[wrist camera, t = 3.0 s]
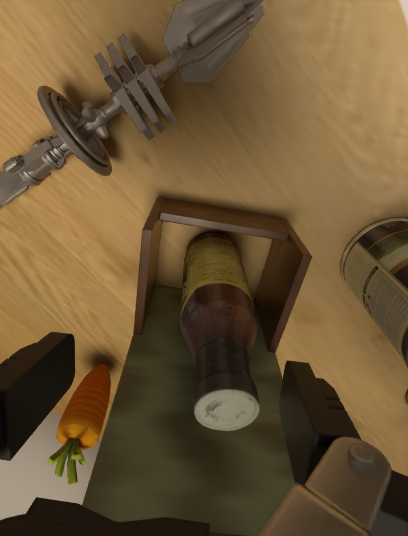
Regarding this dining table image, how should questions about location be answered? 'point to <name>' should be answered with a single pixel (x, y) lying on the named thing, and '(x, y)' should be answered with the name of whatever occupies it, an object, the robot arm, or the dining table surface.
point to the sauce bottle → (219, 333)
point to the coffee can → (381, 277)
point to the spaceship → (133, 90)
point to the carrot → (82, 421)
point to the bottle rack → (181, 401)
